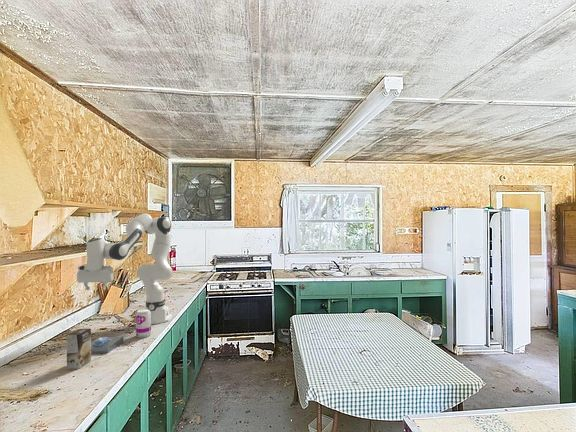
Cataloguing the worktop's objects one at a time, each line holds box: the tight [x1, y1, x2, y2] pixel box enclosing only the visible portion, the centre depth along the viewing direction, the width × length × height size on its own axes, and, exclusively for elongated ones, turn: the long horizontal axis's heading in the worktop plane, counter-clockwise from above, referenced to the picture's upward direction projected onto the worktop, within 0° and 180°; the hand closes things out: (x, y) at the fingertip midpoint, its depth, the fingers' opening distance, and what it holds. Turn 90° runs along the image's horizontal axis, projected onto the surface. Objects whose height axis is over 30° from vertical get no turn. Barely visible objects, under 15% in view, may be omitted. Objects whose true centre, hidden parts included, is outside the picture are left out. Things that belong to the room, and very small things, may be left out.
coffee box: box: [66, 328, 92, 370], centre depth 162 cm, size 9×6×16 cm
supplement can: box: [135, 308, 152, 339], centre depth 202 cm, size 8×8×15 cm
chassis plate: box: [91, 336, 125, 354], centre depth 184 cm, size 16×14×3 cm
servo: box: [93, 336, 110, 346], centre depth 183 cm, size 9×4×6 cm, turn 179°
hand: (95, 289), depth 197 cm, fingers open, 8 cm apart
